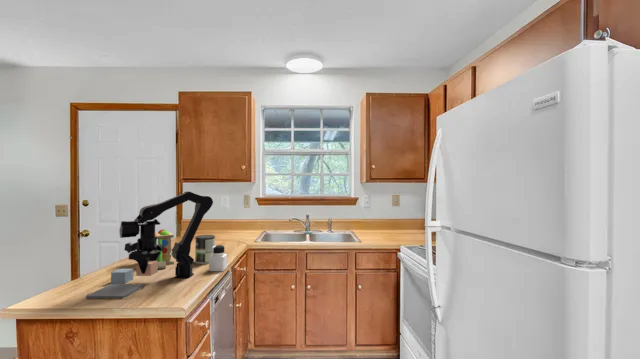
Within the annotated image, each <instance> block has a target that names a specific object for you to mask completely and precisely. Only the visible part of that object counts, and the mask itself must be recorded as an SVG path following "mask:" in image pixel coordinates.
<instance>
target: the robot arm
mask: <svg viewBox="0 0 640 359" xmlns="http://www.w3.org/2000/svg"><path fill="white" fill-rule="evenodd" d="M188 201H189V202H192V203H195V205H194V213H193V215H192V217H191V219H190V221H189V223H188V226H187V227H186V229H185V231H184V234H183V236H182V238H181V239H180V241H178V242H177V241H176V242H175V243H174V245H173V247H172V248H171V253H172V255H171V258H173V259H174V260H176V266H175V269H174V271H175V276H174V279H189V278H191V277H192V276H193V275H194V272H193V266H194V265H193V264H194V263H195V258H193V257H192V256H191V255H190V254H191V249H192V248H191V246H192V242H193V239H194V237H196V236H195V235H196V233H197V231H198V229H199V227H200V225H201V222H202V220H203V218H204V216H205V215H206V214H207V213H208V212H209V210H211V208H212V206H213V204H214V200H213V198H212V197H211V196H207V195H201V194H197V193H195V192H192V191H189V190H188V191H184V192H183V193H181V194H178V195H175V196H174V197H171V198H169V199H167V200H164V201H162V202H159V203H156V204H149V205H146V206H143V207H141V208H140V210H139V214H138V215H137V216H136V218H135V219H134V220H131V221H129V220H128V221H126V220H125V221H124V220H122V221H120V225H119V238H120V239H123V238H124V239H125V238H135V237H137V236H138V235H139V238H137V241H136V242H134V243H133V242H132V241H130V242H127V243H125V244H124V249H123V250H124V251H126V252H127V254H128V260H130V261H132V260H133V261H135V262H137V264H139V267H140V270H141V272H142V274H144V273H145V271H146V269H147V265H148V262H149V261H157V259H158V257H159V255H160V254H161V252H158V251H157V250H160V251H164V246H163V245H162V244H158V243H157V244H155V240H156V239H157V237H155V233H156V226H157V225H159V226H160V225H161V222H160V221H158V219H157V217H159V216H161V215H162V214H163V213H164V212H166V211H167V210H170V209H172V208H175V207H176V206H179V205H181V204H184V203H186V202H188ZM157 240H158V239H157Z"/></svg>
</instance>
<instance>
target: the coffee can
mask: <svg viewBox="0 0 640 359" xmlns="http://www.w3.org/2000/svg"><path fill="white" fill-rule="evenodd" d="M194 237H195V247H194V248H195V252H194V253H195V258H194V263H195V264H197V265H207V264H208V265H209V257H210V256H211V255H213V254H212V247H213V246H215V244H216V243H215V242H216V241H215V240H216V235H213V234H201V235H196V236H194Z"/></svg>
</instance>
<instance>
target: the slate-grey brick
mask: <svg viewBox="0 0 640 359" xmlns="http://www.w3.org/2000/svg"><path fill="white" fill-rule="evenodd" d="M133 280H134V268H118V269H116V270H113V271H111V272H110V284H128V283H129V282H132V281H133Z"/></svg>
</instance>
